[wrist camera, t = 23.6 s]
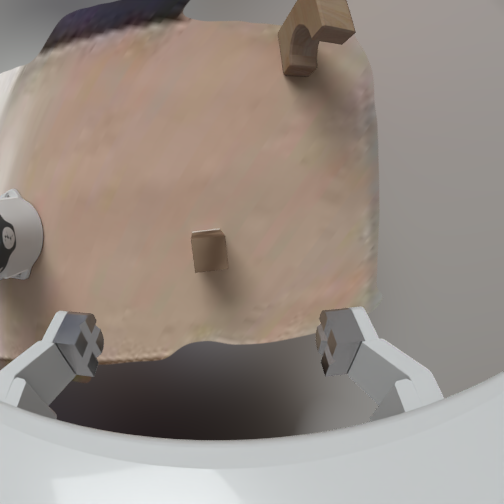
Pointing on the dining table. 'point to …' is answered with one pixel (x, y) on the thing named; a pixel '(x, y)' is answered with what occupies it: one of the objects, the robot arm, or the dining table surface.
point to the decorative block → (312, 33)
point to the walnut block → (209, 250)
